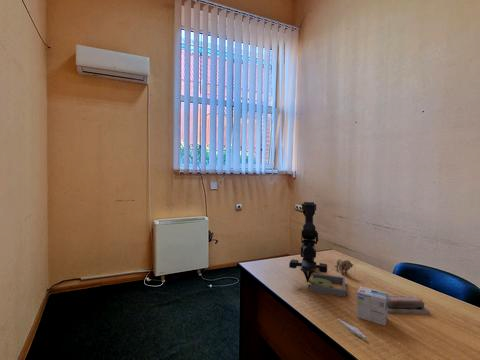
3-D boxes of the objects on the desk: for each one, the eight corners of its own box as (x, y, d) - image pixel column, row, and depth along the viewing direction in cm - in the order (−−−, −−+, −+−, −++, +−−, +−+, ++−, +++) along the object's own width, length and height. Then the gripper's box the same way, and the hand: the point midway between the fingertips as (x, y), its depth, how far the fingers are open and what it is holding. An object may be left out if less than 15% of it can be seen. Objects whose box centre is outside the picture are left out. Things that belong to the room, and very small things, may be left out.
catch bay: (312, 278, 146) (312, 273, 146) (344, 283, 141) (344, 277, 141) (310, 291, 131) (310, 285, 131) (345, 296, 126) (345, 290, 126)
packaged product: (386, 302, 112) (375, 291, 122) (386, 313, 113) (375, 302, 123) (431, 304, 111) (416, 292, 121) (430, 315, 112) (416, 303, 122)
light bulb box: (387, 318, 109) (388, 292, 108) (385, 326, 103) (386, 299, 102) (359, 310, 115) (359, 285, 114) (355, 317, 109) (356, 291, 108)
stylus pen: (369, 340, 95) (369, 335, 95) (363, 342, 94) (363, 337, 94) (339, 319, 109) (338, 315, 109) (333, 321, 108) (333, 316, 108)
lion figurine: (354, 277, 149) (354, 261, 148) (345, 278, 148) (346, 261, 147) (338, 267, 163) (338, 252, 163) (330, 268, 162) (331, 253, 161)
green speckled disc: (305, 287, 136) (305, 283, 136) (313, 279, 145) (313, 276, 145) (328, 293, 130) (328, 289, 129) (334, 284, 139) (334, 281, 139)
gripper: (287, 254, 134) (286, 285, 135) (327, 259, 128) (325, 291, 129) (291, 248, 145) (290, 276, 146) (327, 252, 138) (326, 282, 139)
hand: (307, 282), depth 139 cm, fingers closed
